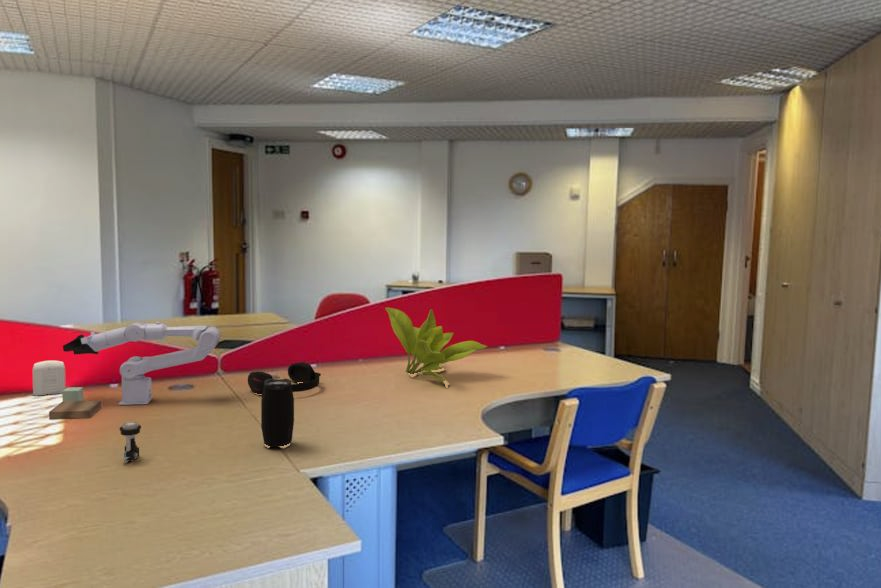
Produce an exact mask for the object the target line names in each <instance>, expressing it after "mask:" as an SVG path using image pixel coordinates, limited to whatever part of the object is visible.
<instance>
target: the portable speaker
mask: <svg viewBox="0 0 881 588" xmlns="http://www.w3.org/2000/svg"><path fill="white" fill-rule="evenodd" d="M291 384H292V380H291V379H290V378H283V379H282V378H281V379H274V378H273V379H267V380H265V381H264V388H263V394H262V396H261V400H260V401H261V402H260V403H261V406H260V408H261V410H260V411H261V413H260V414H261V415H260V416H261V418H260V419H261V420H260V421H261V423H260V424H261V433H262V439H263V444H266V445H268V446H284V445H287V444H289V443H292V441H293V435H294V434H293V432H294V423H295V397H294V392H293V391H292V385H291Z"/></svg>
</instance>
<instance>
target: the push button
mask: <svg viewBox="0 0 881 588" xmlns="http://www.w3.org/2000/svg"><path fill="white" fill-rule="evenodd" d="M141 429H142V425H140V424H138V422H137V421H128V422H124V423H123V425H121V426H120V427H119V431H120V435H121V436H123V437H125V446H124V452H123V463H124V464H126V463H129V462H128V461H131V460H133V459H134V458H135V459H134V460H137V459H138V458H139V457H140V447H138V445H137V444H136V436H137V435H138V434H140V433H141ZM138 456H139V457H138ZM136 458H137V459H136ZM134 460H133V461H134ZM131 462H132V461H131Z"/></svg>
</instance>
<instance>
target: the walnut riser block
mask: <svg viewBox="0 0 881 588" xmlns="http://www.w3.org/2000/svg"><path fill="white" fill-rule="evenodd" d="M101 408H102V401H101V400H83V401H63V400H62V401H61V402H60V403H59V404H58V405H56V406H55V407H54V408H52V409H51V410H49V411H48V415H49V417H48V418H49V419H48V420H75V419H78V420H79V419H81V418H83V419H92V417H93V416H94V415H95V414H96V413H97V412H98V411H99V410H101Z"/></svg>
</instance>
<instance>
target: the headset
mask: <svg viewBox="0 0 881 588" xmlns="http://www.w3.org/2000/svg"><path fill="white" fill-rule="evenodd" d="M273 371H274V372H275V371H277V369H275V370H272V372H273ZM287 375H288V378H289V379H290V380H291V382H294V381H295V382H303V383H299V384H297V383H295V382H294V383H291V385H292V391H293V393H299V392H305V391H311V390H312V389H315V388H317V387H318V386H319V384H320V377H321V375H322V374H321V373H320V372H316V371H315V370H314V368H313V366H312V365H311V364H310V363H307V362H305V361H304V362H303V361H300V362H294V363H292V364H290V365H289V366H288V369H287ZM267 379H274V378H273V376H272V374H269V373H267V372H266V371H251V372H250V373H249V374H248V376H247V385H248V387H249V388H250V390H251V392H252V393H253V392H254V393H257V394H263V388H264V381H265V380H267ZM254 393H253V394H254Z"/></svg>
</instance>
